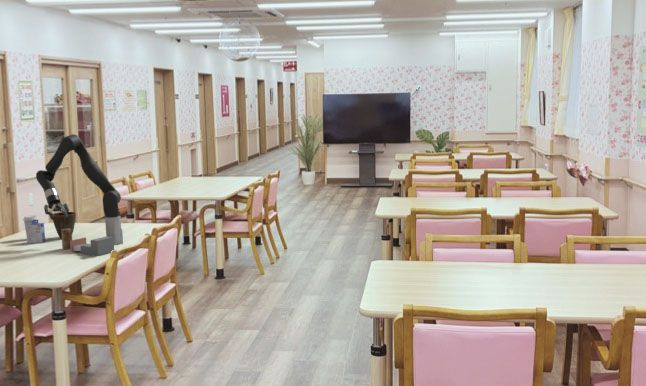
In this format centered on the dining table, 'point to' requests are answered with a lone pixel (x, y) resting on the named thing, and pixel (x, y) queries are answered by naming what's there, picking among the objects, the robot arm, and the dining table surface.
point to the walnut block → (66, 238)
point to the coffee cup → (29, 220)
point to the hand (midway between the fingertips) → (59, 218)
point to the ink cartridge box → (35, 232)
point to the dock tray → (78, 244)
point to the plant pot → (64, 222)
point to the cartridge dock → (99, 246)
